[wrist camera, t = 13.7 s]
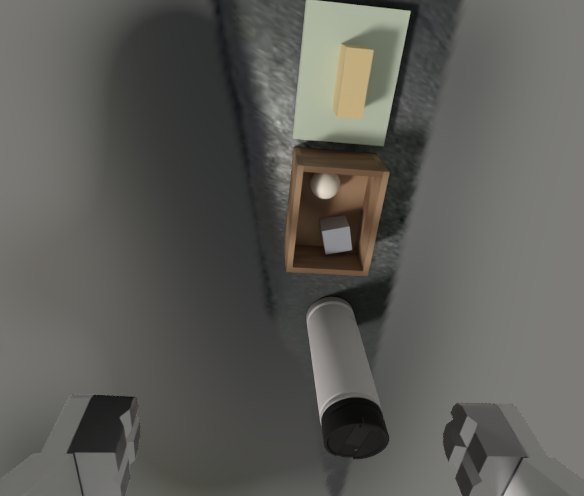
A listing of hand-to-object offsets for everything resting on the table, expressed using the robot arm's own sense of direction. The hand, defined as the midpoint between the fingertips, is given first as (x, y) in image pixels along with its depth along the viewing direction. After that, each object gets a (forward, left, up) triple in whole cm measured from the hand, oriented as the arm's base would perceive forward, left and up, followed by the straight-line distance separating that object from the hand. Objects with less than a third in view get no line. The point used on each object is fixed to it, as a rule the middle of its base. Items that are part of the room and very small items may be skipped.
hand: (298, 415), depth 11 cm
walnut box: (+10, +7, -39) cm, 40 cm away
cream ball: (+7, +6, -38) cm, 39 cm away
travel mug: (+26, +10, -39) cm, 48 cm away
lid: (-3, +7, -38) cm, 39 cm away
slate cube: (+13, +8, -38) cm, 41 cm away
